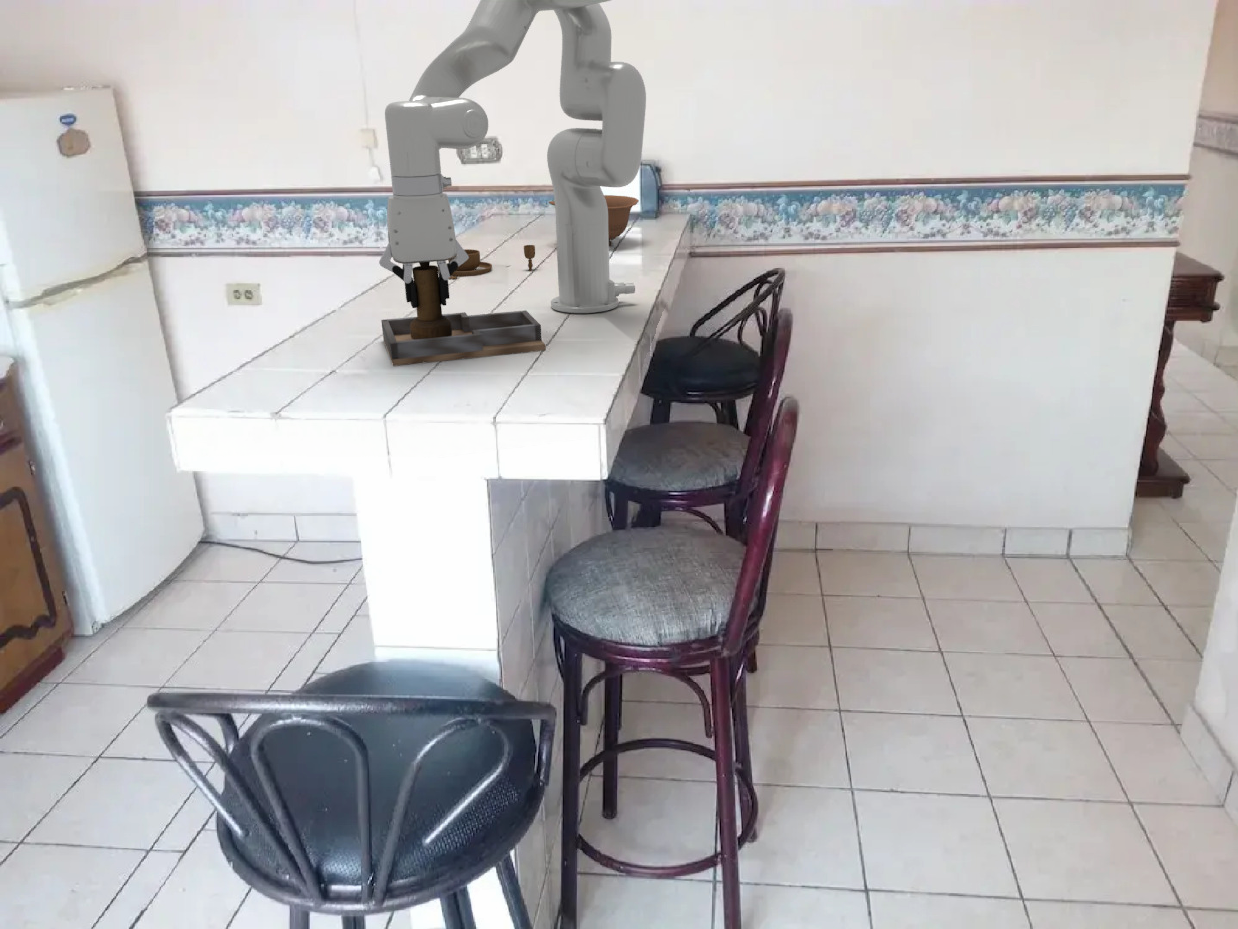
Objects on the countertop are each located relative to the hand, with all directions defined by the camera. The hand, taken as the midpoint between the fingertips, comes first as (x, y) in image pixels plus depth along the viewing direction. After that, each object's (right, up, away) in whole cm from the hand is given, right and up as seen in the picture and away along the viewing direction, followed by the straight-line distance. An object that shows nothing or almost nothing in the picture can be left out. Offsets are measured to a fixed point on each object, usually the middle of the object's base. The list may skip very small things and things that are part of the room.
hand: (428, 303), depth 162 cm
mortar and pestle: (0, -5, +2) cm, 5 cm away
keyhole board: (+5, -6, +4) cm, 9 cm away
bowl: (+24, +29, +89) cm, 97 cm away
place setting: (0, +16, +60) cm, 62 cm away
